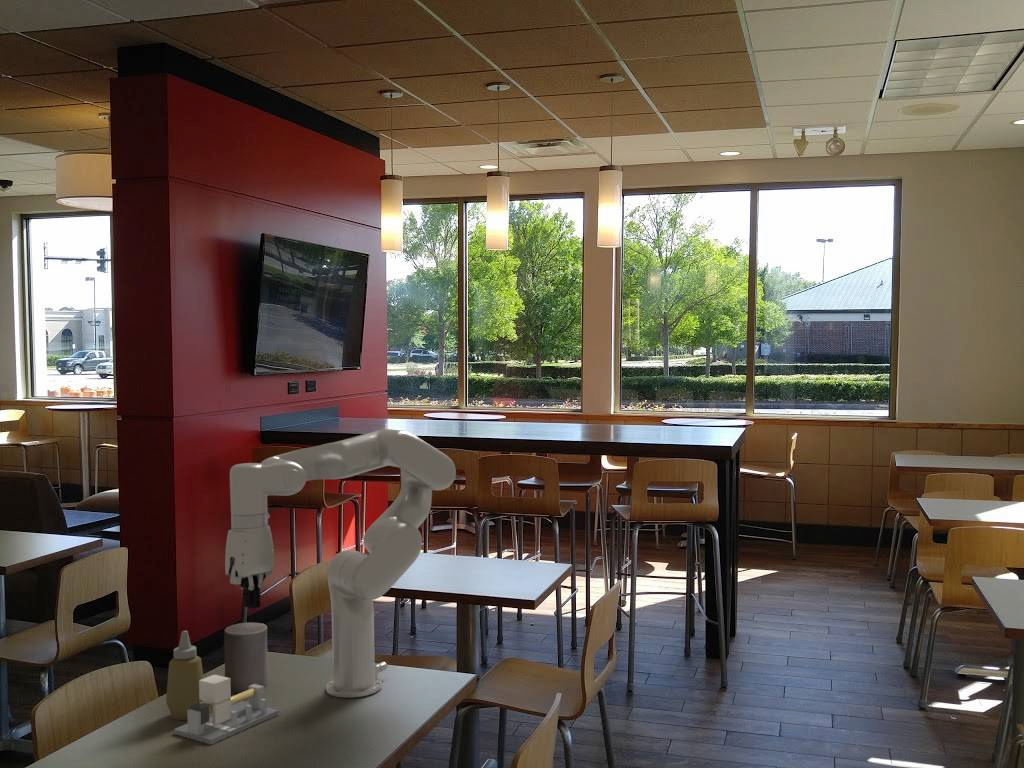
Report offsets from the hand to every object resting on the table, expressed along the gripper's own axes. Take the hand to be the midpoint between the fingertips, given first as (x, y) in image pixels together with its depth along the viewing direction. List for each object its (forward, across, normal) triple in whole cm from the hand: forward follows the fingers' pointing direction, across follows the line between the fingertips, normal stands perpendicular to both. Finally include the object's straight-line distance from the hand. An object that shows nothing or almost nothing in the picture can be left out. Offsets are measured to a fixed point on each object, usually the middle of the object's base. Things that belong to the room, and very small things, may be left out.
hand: (252, 606), depth 198 cm
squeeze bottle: (+23, +8, -12) cm, 27 cm away
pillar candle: (+23, -10, -14) cm, 29 cm away
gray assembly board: (+23, +7, 0) cm, 24 cm away
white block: (+21, +10, 0) cm, 23 cm away
